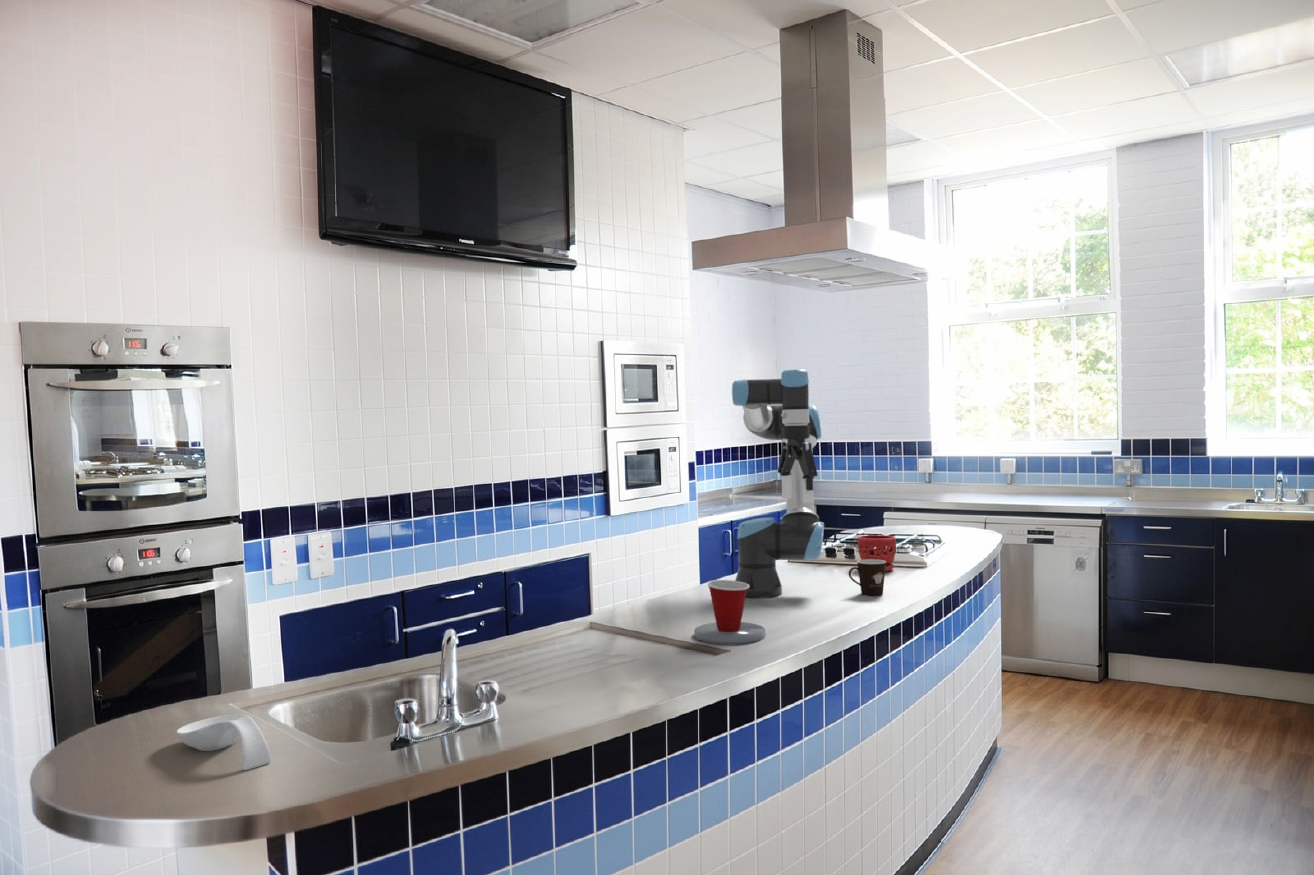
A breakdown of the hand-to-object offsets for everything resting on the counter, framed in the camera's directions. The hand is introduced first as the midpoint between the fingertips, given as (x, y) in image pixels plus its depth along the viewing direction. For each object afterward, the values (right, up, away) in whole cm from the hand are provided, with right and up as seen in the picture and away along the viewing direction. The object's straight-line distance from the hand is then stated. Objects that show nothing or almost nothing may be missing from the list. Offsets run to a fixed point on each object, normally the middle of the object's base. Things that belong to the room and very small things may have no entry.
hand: (797, 500), depth 252 cm
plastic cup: (-21, -32, -23) cm, 44 cm away
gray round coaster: (-21, -33, -24) cm, 46 cm away
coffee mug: (+25, -31, +24) cm, 46 cm away
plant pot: (+39, -29, +66) cm, 82 cm away
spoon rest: (-114, -38, -96) cm, 154 cm away
